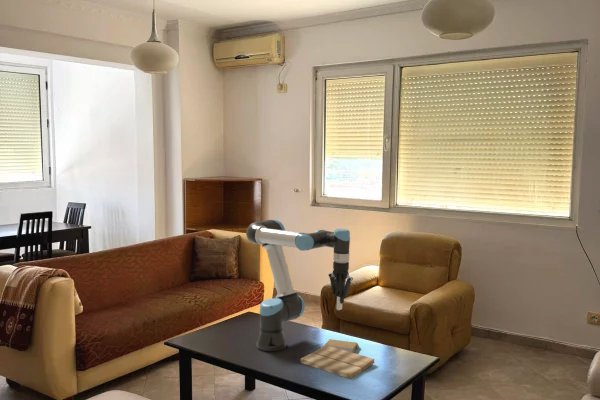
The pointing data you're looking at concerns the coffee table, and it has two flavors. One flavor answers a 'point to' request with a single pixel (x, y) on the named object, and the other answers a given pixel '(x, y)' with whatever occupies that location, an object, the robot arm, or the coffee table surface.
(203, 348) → the coffee table surface
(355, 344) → the crown molding
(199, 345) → the coffee table surface
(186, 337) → the coffee table surface
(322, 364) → the laid board
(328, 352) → the board
